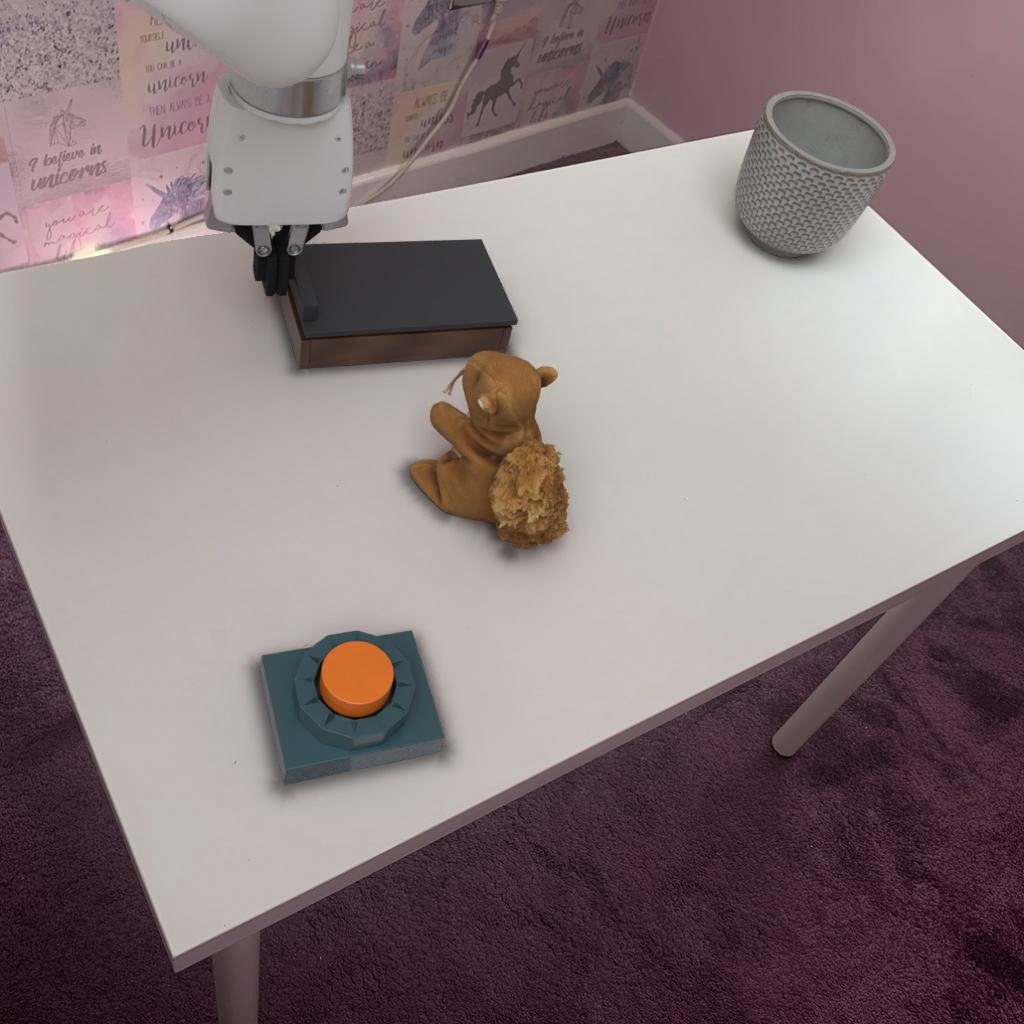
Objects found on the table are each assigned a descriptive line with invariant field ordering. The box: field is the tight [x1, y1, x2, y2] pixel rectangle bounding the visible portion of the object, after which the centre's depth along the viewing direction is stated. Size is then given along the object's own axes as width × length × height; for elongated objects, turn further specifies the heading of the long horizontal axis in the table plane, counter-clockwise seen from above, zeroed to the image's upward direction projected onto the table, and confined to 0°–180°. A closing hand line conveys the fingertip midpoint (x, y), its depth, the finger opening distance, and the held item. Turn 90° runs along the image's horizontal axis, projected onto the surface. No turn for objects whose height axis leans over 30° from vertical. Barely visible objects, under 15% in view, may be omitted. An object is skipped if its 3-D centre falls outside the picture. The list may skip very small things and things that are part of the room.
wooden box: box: [277, 281, 514, 370], centre depth 91 cm, size 18×11×3 cm, turn 108°
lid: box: [288, 238, 519, 338], centre depth 89 cm, size 18×11×2 cm, turn 108°
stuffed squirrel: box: [409, 351, 570, 550], centre depth 77 cm, size 10×14×13 cm
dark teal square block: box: [259, 629, 445, 786], centre depth 67 cm, size 10×8×4 cm
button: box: [319, 641, 394, 717], centre depth 65 cm, size 4×4×2 cm
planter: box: [734, 90, 897, 259], centre depth 108 cm, size 14×14×13 cm
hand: (272, 284), depth 85 cm, fingers closed
